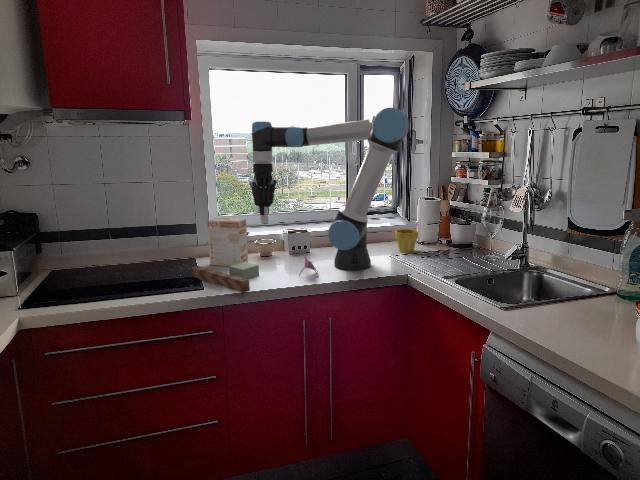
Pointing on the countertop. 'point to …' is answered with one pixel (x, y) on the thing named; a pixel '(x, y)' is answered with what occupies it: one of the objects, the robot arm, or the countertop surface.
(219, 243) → the coffeecake box
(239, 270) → the sage block
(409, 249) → the plant pot
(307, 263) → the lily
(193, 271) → the walnut plank
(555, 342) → the countertop surface
